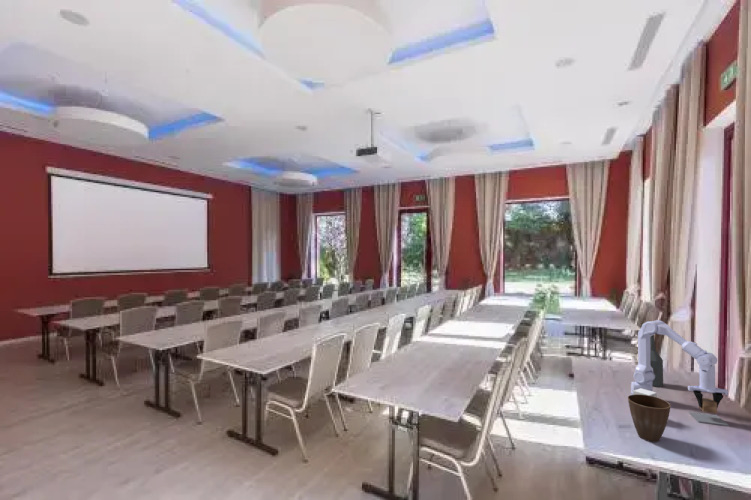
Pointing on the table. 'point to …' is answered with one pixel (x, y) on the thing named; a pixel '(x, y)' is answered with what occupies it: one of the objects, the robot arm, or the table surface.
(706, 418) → the slate mat
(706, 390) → the robot arm
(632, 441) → the table surface
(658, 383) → the bottle
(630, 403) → the plant pot
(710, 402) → the walnut block
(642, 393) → the supplement box
